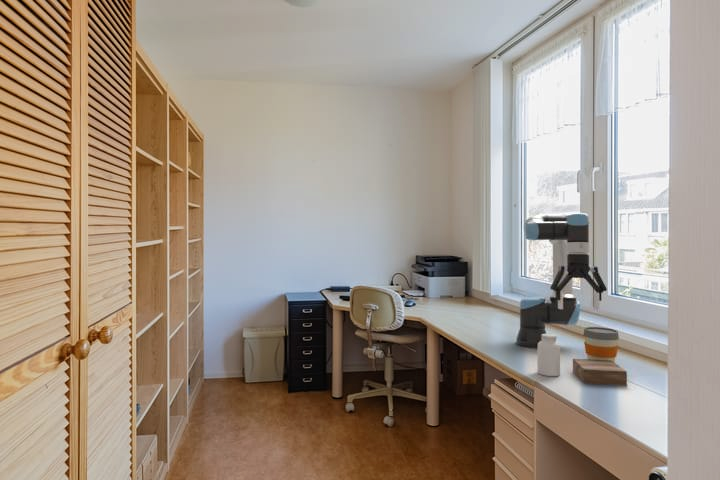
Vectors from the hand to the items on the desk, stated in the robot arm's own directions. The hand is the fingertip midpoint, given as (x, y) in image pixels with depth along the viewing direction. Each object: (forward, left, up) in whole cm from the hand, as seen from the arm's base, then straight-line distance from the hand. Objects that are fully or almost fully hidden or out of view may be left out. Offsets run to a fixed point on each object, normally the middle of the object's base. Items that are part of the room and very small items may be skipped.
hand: (578, 309), depth 163 cm
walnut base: (+2, +6, -25) cm, 26 cm away
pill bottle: (0, -11, -25) cm, 28 cm away
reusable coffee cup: (-14, +12, -25) cm, 31 cm away
